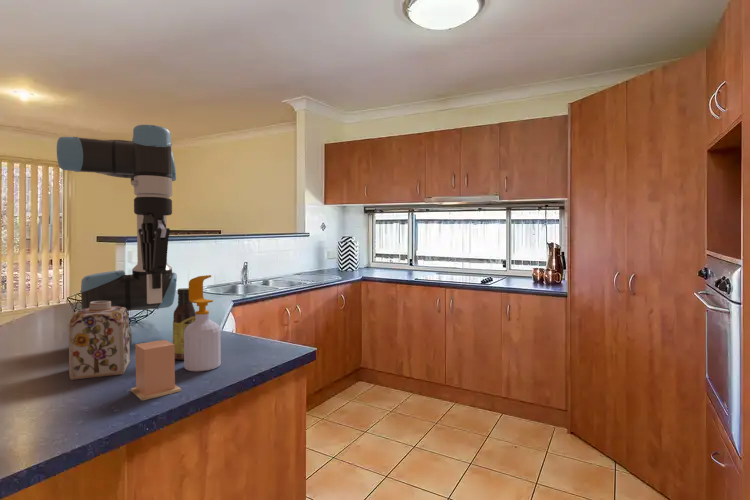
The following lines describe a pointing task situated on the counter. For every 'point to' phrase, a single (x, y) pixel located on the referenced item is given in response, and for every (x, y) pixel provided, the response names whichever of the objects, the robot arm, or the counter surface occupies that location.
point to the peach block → (155, 367)
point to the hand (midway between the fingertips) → (154, 302)
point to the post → (154, 393)
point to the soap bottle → (201, 333)
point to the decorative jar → (99, 341)
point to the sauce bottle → (182, 321)
